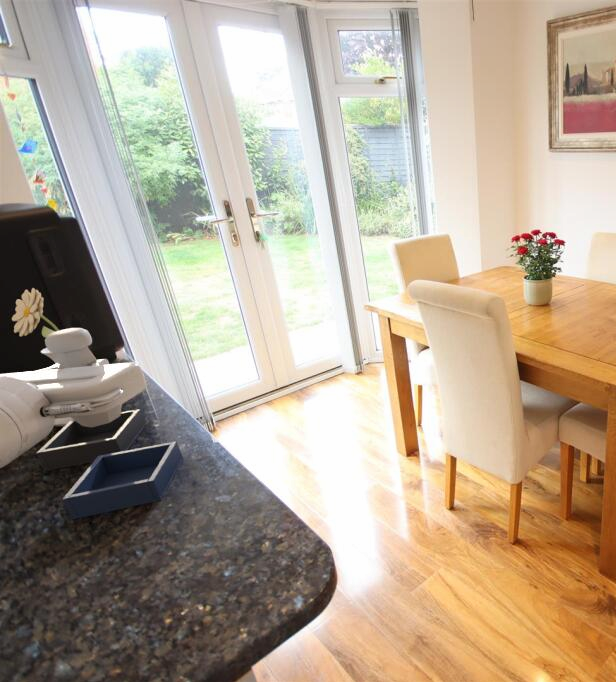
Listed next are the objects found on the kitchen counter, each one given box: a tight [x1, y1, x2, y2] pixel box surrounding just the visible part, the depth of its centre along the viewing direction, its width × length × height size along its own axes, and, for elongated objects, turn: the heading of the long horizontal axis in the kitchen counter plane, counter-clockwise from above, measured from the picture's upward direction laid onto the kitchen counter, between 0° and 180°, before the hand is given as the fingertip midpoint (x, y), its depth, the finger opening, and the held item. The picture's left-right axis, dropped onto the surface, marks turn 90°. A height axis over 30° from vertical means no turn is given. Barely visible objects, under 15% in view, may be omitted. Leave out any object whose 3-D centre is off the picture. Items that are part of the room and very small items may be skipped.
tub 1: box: [35, 408, 147, 472], centre depth 75 cm, size 10×10×3 cm
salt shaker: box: [44, 327, 123, 427], centre depth 61 cm, size 6×6×13 cm
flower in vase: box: [11, 287, 74, 427], centre depth 80 cm, size 13×11×25 cm
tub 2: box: [61, 441, 184, 520], centre depth 65 cm, size 10×10×3 cm
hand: (85, 366), depth 61 cm, fingers closed on salt shaker, 3 cm apart
